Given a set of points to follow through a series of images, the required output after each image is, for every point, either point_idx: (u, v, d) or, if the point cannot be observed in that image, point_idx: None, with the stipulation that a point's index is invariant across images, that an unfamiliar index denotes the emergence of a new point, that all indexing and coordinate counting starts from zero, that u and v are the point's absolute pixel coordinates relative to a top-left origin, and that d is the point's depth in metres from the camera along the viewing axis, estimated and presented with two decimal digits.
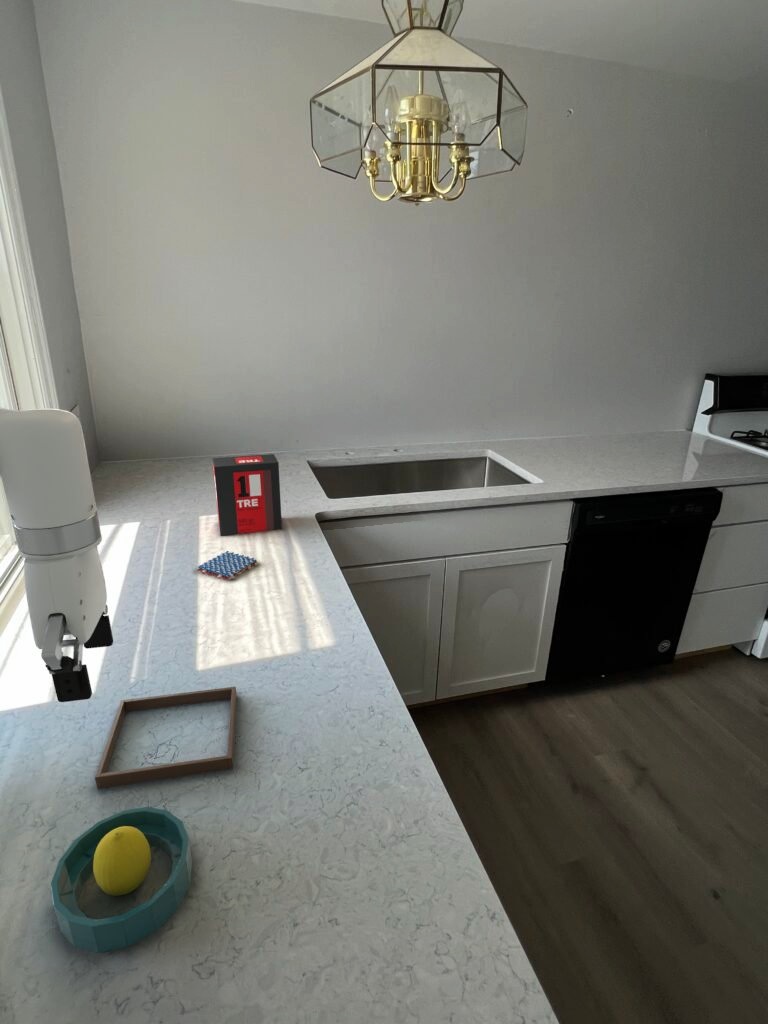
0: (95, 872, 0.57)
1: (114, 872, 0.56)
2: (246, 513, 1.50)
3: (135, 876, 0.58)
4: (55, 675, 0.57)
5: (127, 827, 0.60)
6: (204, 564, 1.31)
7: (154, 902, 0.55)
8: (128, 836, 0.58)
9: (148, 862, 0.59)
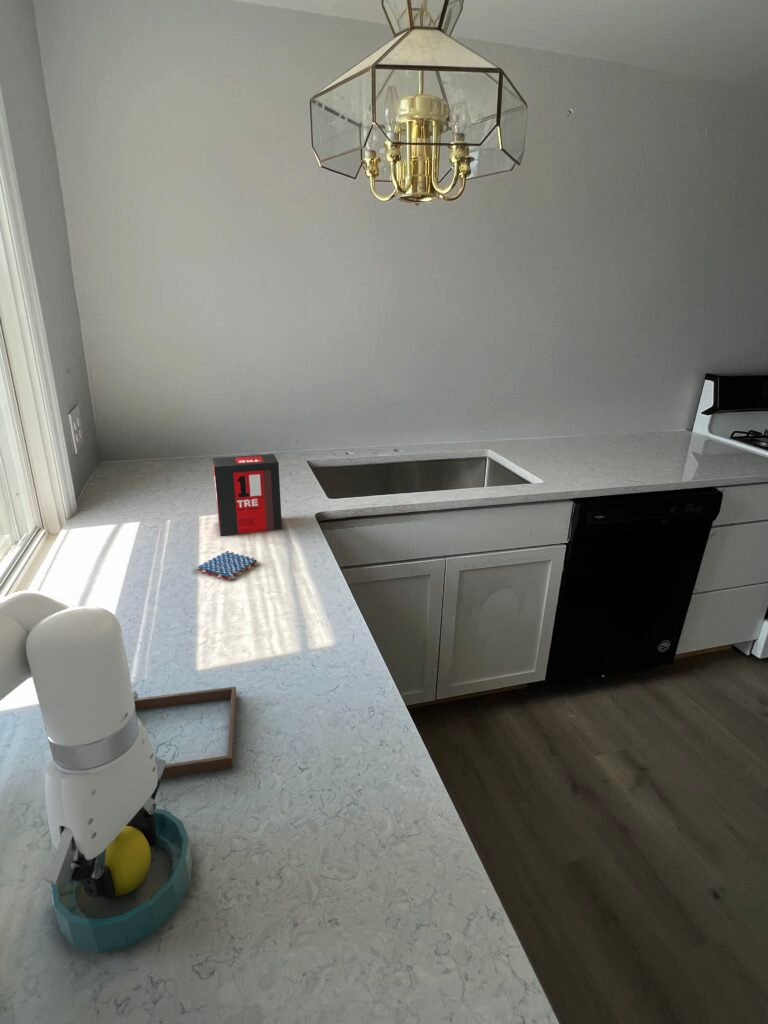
0: None
1: (114, 872, 0.56)
2: (246, 513, 1.50)
3: (135, 876, 0.58)
4: None
5: (127, 827, 0.60)
6: (204, 564, 1.31)
7: (154, 902, 0.55)
8: (128, 836, 0.58)
9: (148, 862, 0.59)
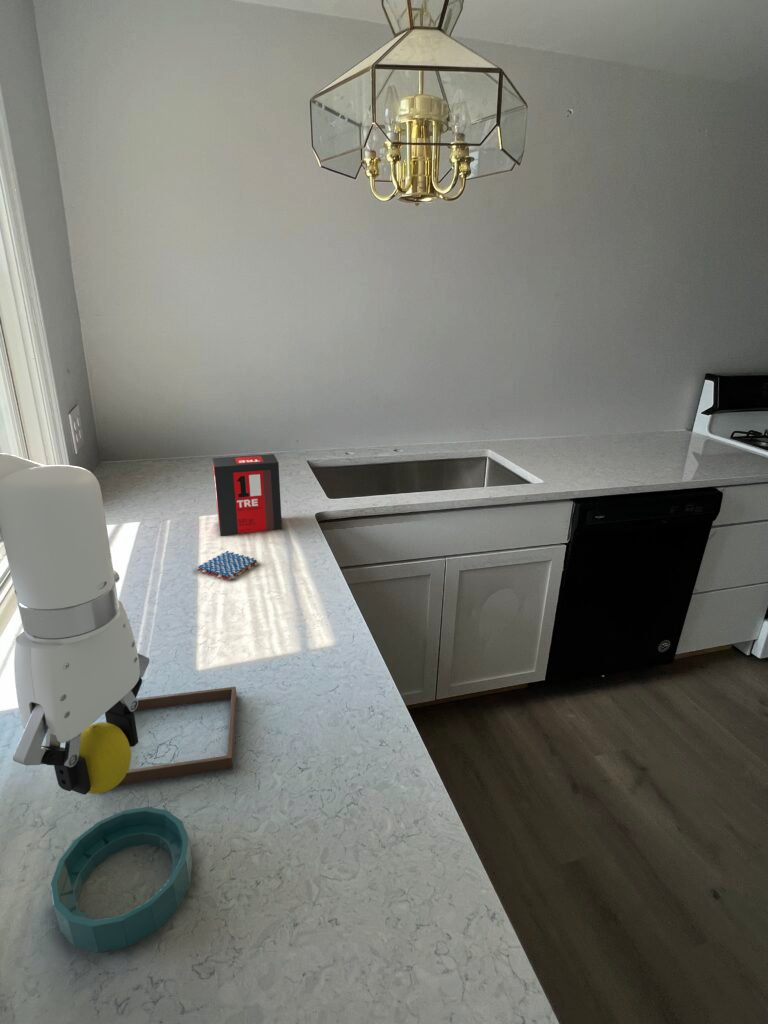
0: None
1: (90, 765, 0.52)
2: (246, 513, 1.50)
3: (113, 772, 0.54)
4: None
5: (106, 723, 0.55)
6: (204, 564, 1.31)
7: (154, 902, 0.55)
8: (107, 730, 0.54)
9: (128, 760, 0.55)
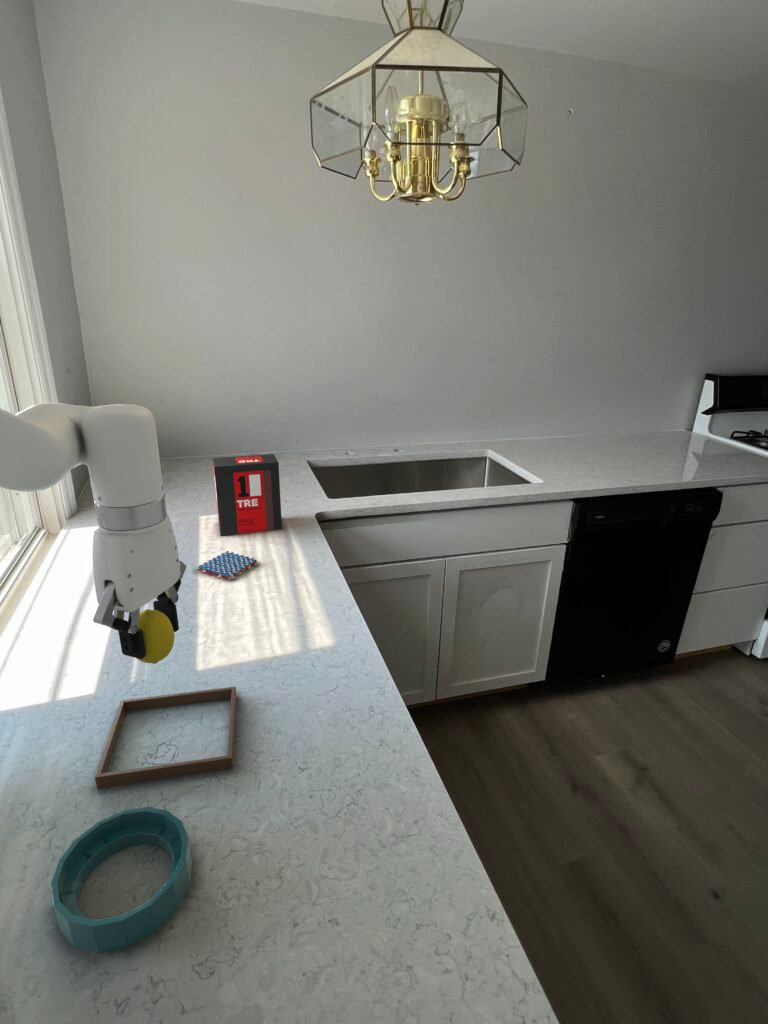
0: None
1: (145, 637, 0.69)
2: (246, 513, 1.50)
3: (162, 644, 0.70)
4: None
5: (155, 610, 0.72)
6: (204, 564, 1.31)
7: (154, 902, 0.55)
8: (157, 614, 0.71)
9: (172, 638, 0.72)
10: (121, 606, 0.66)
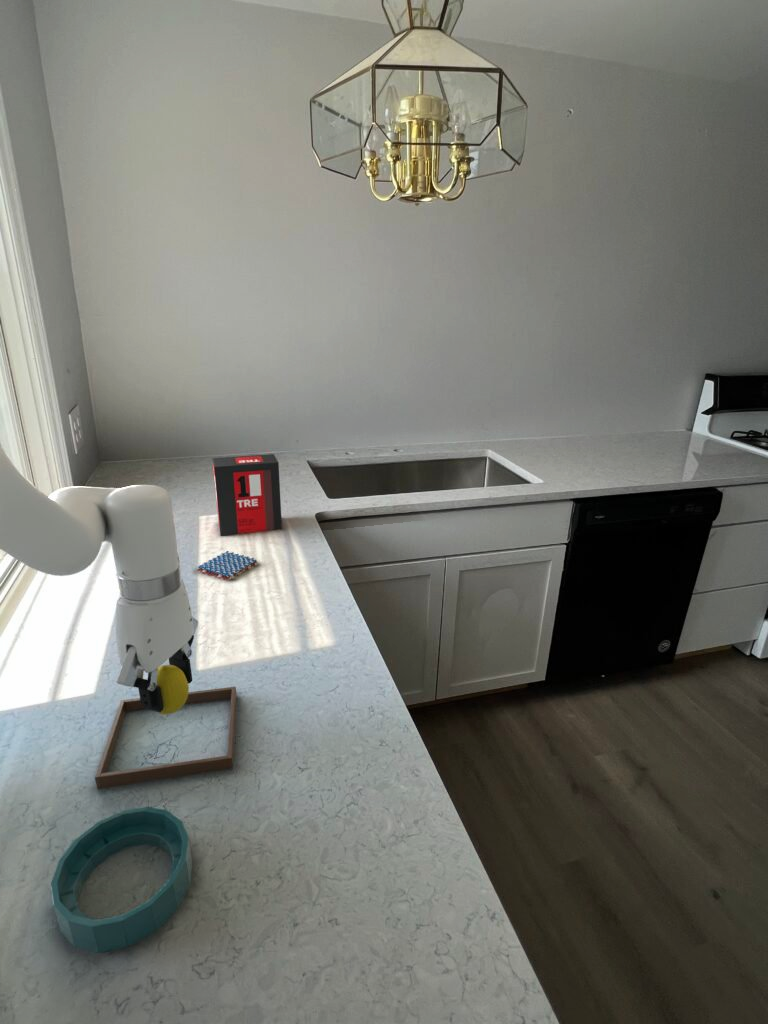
0: None
1: (163, 692, 0.75)
2: (246, 513, 1.50)
3: (178, 698, 0.77)
4: None
5: (171, 665, 0.78)
6: (204, 564, 1.31)
7: (154, 902, 0.55)
8: (173, 669, 0.77)
9: (187, 691, 0.78)
10: (141, 666, 0.73)
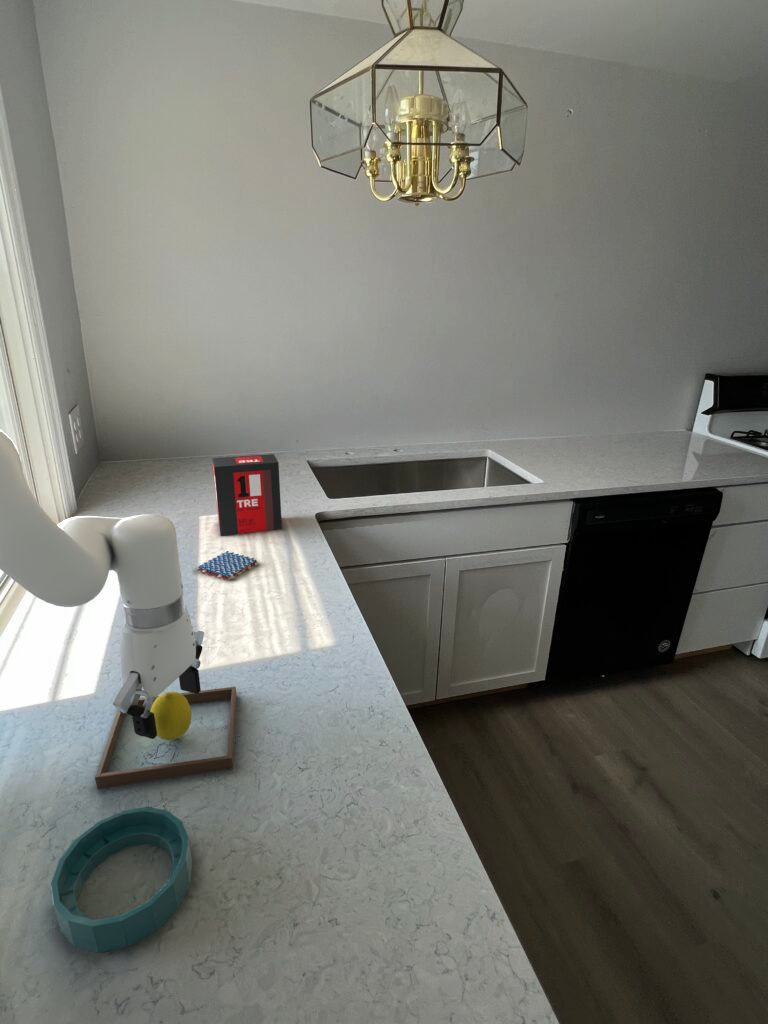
0: None
1: (166, 719, 0.77)
2: (246, 513, 1.50)
3: (181, 724, 0.78)
4: None
5: None
6: (204, 564, 1.31)
7: (154, 902, 0.55)
8: (176, 696, 0.79)
9: (190, 717, 0.80)
10: (139, 690, 0.73)
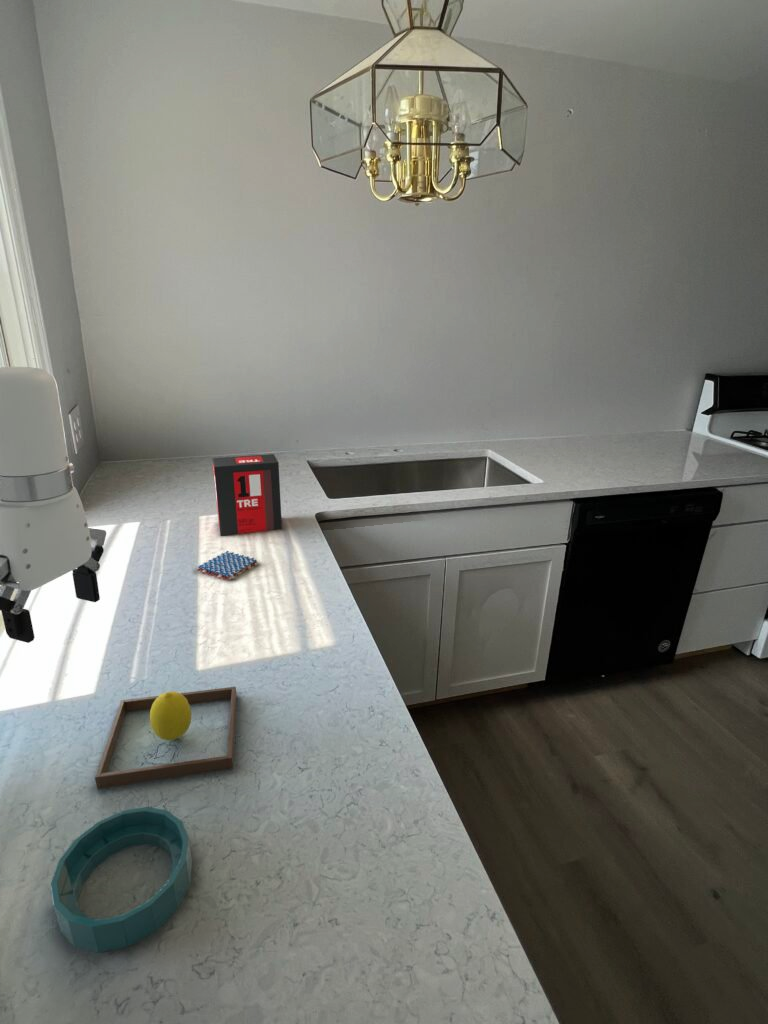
0: (152, 720, 0.78)
1: (166, 719, 0.77)
2: (246, 513, 1.50)
3: (181, 724, 0.78)
4: None
5: None
6: (204, 564, 1.31)
7: (154, 902, 0.55)
8: (176, 696, 0.79)
9: (190, 717, 0.80)
10: (12, 582, 0.61)
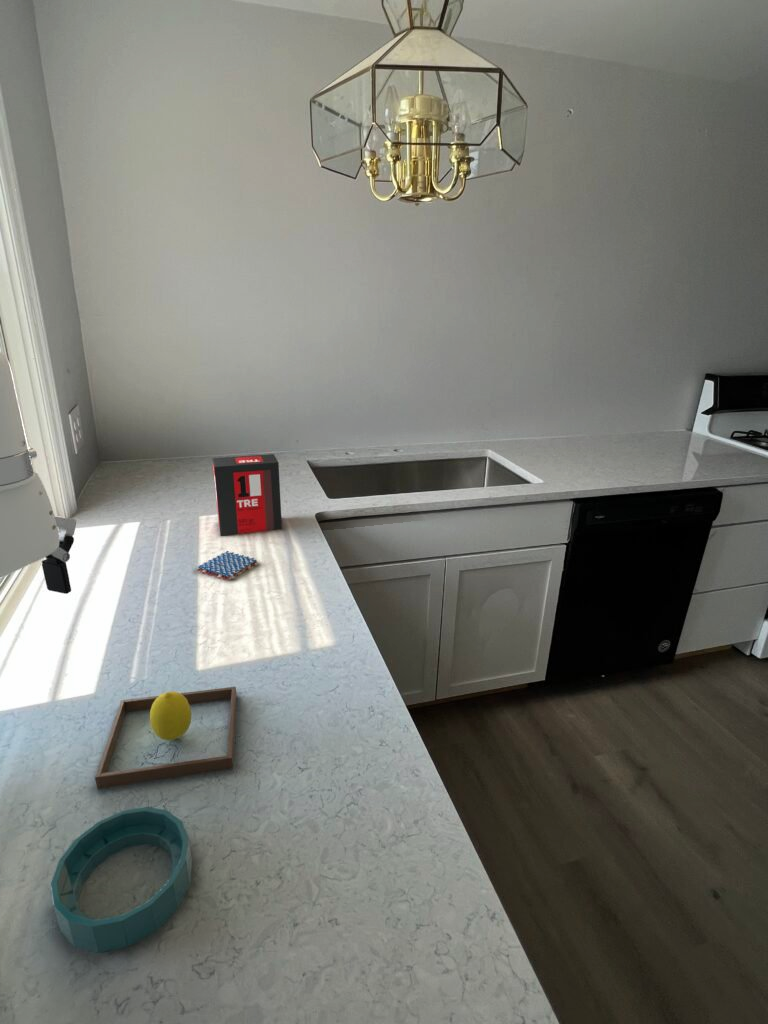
0: (152, 720, 0.78)
1: (166, 719, 0.77)
2: (246, 513, 1.50)
3: (181, 724, 0.78)
4: None
5: None
6: (204, 564, 1.31)
7: (154, 902, 0.55)
8: (176, 696, 0.79)
9: (190, 717, 0.80)
10: None
